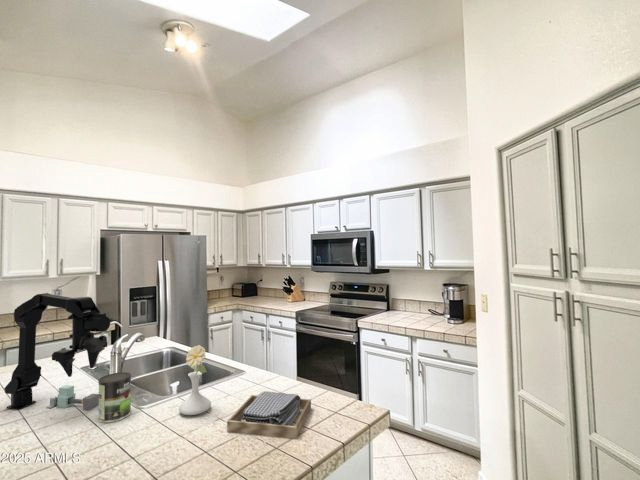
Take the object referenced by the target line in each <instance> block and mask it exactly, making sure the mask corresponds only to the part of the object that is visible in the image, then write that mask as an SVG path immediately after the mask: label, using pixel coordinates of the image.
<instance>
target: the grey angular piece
mask: <svg viewBox="0 0 640 480" xmlns="http://www.w3.org/2000/svg"><path fill="white" fill-rule="evenodd" d="M58 396H59V394H57V396H55V397H51V398H49V405H47V406H46V407H45V409H46V410H47V409H50V410H52V409H53V408H55V407H57V397H58ZM68 403H75V404H77V405H78V404H79V405H82V411H91V410H93V409H95V408H97V407H99V393H90V394H89V395H87V396H84V397H83V398H75V399H72V398H68Z"/></svg>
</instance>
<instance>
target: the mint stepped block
mask: <svg viewBox="0 0 640 480" xmlns="http://www.w3.org/2000/svg"><path fill="white" fill-rule="evenodd" d="M58 395H59V396H58ZM58 395H57V396H56V397H57V406H56V407H57V408H62V409H66V408H69V407H70V406H73V405H75V404H76V403H68V398H72V399H76V393H75V386H74V385H69V384H65V385H63V386H60V387H58Z"/></svg>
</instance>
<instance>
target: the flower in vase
mask: <svg viewBox="0 0 640 480" xmlns="http://www.w3.org/2000/svg"><path fill="white" fill-rule="evenodd" d="M205 358H206V349H205V347H203V346H202V345H200V344H198V345H197V346H196V345H194V346H192V347H191V348H190V350H188V353H187V354H186V358H185V361H186V363H185V364H186V365H187V366H188V367H190V368H191V369H193V370H195V371H193V372H189V373H188V374H187V376H188V377H189V378H190V381H191V393H190V395H189V396H188V397H187V398H185V399H184V400H183V402H182V403H181V404H180V405H179V408H178V411H179V413H180V414H182V415H186V416H193V415H194V416H195V415H199V414H202V413H205V412H206V411H208V410H210V408H211V406H212V402H211V400H210V399H209V398H207V397H206V396H204V395H202V394H201V393H200V391H199V390H200V389H199V381H200V378H201V376H202V375H203V374H204V373H208V371H207V369H206V366H205V365H201V364H202V363H203V361H204V359H205ZM198 366H199V367H198ZM197 367H198V368H197Z"/></svg>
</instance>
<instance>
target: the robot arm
mask: <svg viewBox="0 0 640 480" xmlns="http://www.w3.org/2000/svg"><path fill="white" fill-rule="evenodd" d="M48 307H54V308H60V309H64V310H65V311H66V312H67V313H69V314H70V315H69V316H68V317H67V320H72V328H71V330H72V332H71V334H69V338H71V344H70V345H69V349H60V350H57V351H53V353H52V354H51V361H54V362H58V363H59V364H60V366H61V367H62V369H63V371H65V372H64V373H66V375H67V377H68V378H70V377H72V375H73V363H74V361H76V358H74V357H75V356H76V354H79V353H82V352H85V351H86V353H87V359H88V364H89V368H90V369H93V368H95V364H96V362H97V360H98V357H99V354H100V353H102V351H104V350H105V349H106V348H107V347H108V337H107V336H106V335H100V336H97V337H96V336H95V334H94V333H95V332H97V333H98V332H99V333H101V332H102V333H105V332H107V330H109V328H110V326H111V319H110V318H109V317H108V316H107V314H106V312H102V313H101V311H100V310H99V308H98V306H97V305H96V303H95V301H94V300H93V298H92V297H91V296H80V297H79V296H78V297H69V296H63V295H58V294H57V295H56V294H52V293H49V292H44V293H38V294H35V295H34V296H32V297H31V298H30V299H28V300H26V301H24V302H23V303H22V304H20V305H18V306H17V307H16V308H15V309H14V311H13V317H14V323H15V324H16V325H17V327H19V337H18V358H17V359H18V360H17V366H16V367H15V368H14V370H13V372H11V379H10V381H9V382H8V383H7V384H6V386H5V387H4V388H3V389H4V393H5V395H7V394H8V395H10V404H9V405H8V406H6V409H9V410H12V409H13V410H21V409H23V408H26V407H28V406H31V405H32V404H35V403H37V401H36V400H33V388H34V387H38V384H39V381H40V378H41V377H42V373H41V372H42V367H41V366H40V365H39V366H38V364H37V363H36V338H37V336H36V335H37V325H38V324H39V323H40V322H41V320H42V317H43V312H44V311H45V310H46V309H48Z"/></svg>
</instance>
